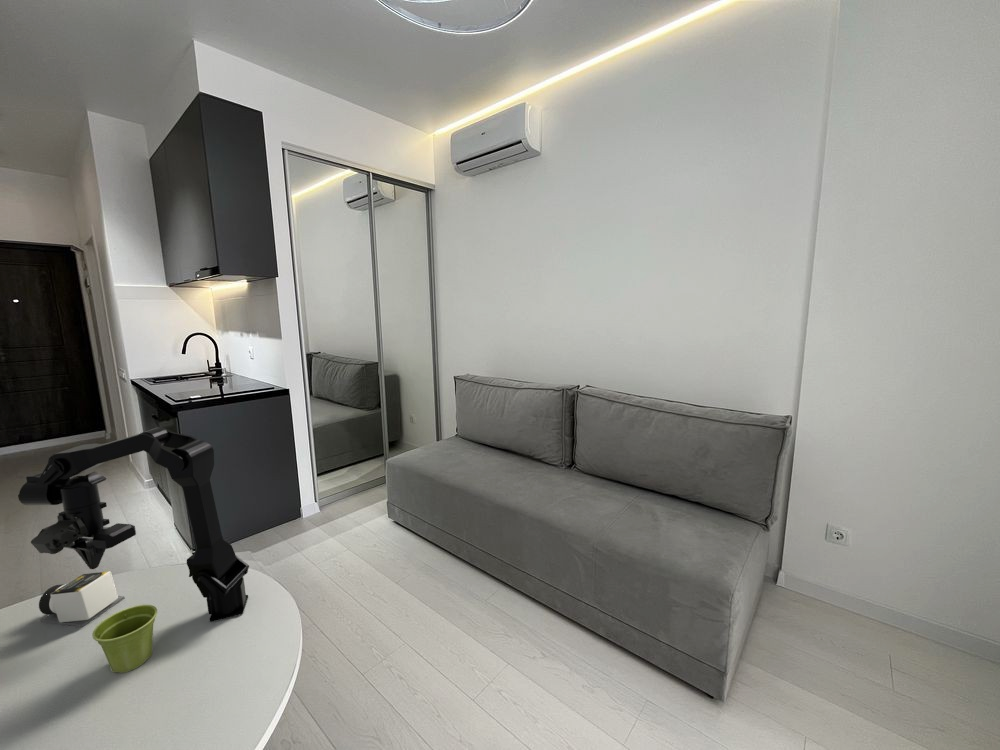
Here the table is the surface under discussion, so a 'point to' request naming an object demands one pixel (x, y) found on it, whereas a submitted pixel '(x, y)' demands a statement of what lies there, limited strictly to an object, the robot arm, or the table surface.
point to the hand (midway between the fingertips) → (94, 568)
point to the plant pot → (127, 637)
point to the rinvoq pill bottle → (79, 597)
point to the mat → (54, 619)
